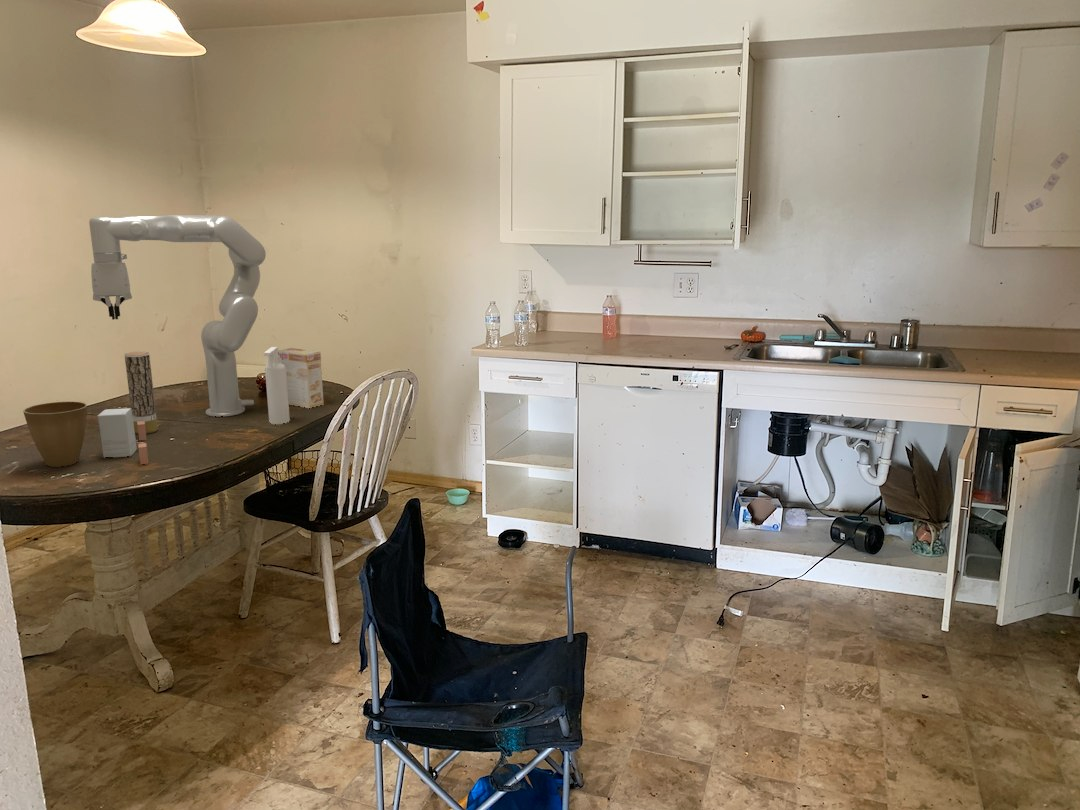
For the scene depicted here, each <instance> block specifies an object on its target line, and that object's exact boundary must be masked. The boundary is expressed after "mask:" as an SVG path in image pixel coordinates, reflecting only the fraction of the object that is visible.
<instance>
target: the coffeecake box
mask: <svg viewBox="0 0 1080 810" xmlns="http://www.w3.org/2000/svg"><path fill="white" fill-rule="evenodd" d="M278 351H279V352H278V353H277V354H278V355H279V356H280V357H281V362H282V364H283V365H284V366H285V368H286V375H287V389H288V403H289V406H293V405H294V406H293V407H298V406H300V407H299V408H304V407H305V408H304V409H309V408H310V409H313V408H312V407H314V408H317V407H316V406H318V407H321V406H320V405H322V406H324V405H325V403H324V389H323V376H322V375H323V373H322V372H323V371H322V357H321V355H322V353H321V351H315V350H310V349H301V348H295V347H290V348H283V349H278ZM278 360H279V358H278Z"/></svg>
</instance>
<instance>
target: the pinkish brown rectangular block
mask: <svg viewBox="0 0 1080 810" xmlns="http://www.w3.org/2000/svg"><path fill="white" fill-rule="evenodd" d="M137 425H138V434H137V435H138V440H139V442H140V441H141V440H142V441H147V434H146V429H145V421H139V422H137ZM137 447H138V448H137V449H138V453H139V454H138V455H139V464H140V466H142V465H141V464H145V465H149V464H148V463H149V456H148V454H149V453H148V448H147V447H148V445H147V442H141V443H137Z"/></svg>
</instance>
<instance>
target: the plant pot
mask: <svg viewBox="0 0 1080 810" xmlns="http://www.w3.org/2000/svg"><path fill="white" fill-rule="evenodd" d="M87 409H88V404H87V403H86V402H81V401H55V402H46V403H40V404H35V405H32V406H28V407H25V408H24V409H23V411H22V412H23V415H24V416H23V417H25V421H26V425H27V429H28V431H29V432H30V435H31V437H32V440H33V442H34V444H35V447H36V449H37V451H38V453H39V454H40V455H41V457H42V459H43V461H44V462H45V464H46V466H47V465H48V467H49V466H51V468H61V466H64V467H68V466H67V465H69V466H72V465H71V464H73V465H75V464H77V463H78V462H79V460H80V457H81V452H82V448H83V444H84V439H85V434H86V433H85V432H86V426H87V413H88V412H87ZM76 462H77V463H76ZM74 463H75V464H74Z"/></svg>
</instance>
